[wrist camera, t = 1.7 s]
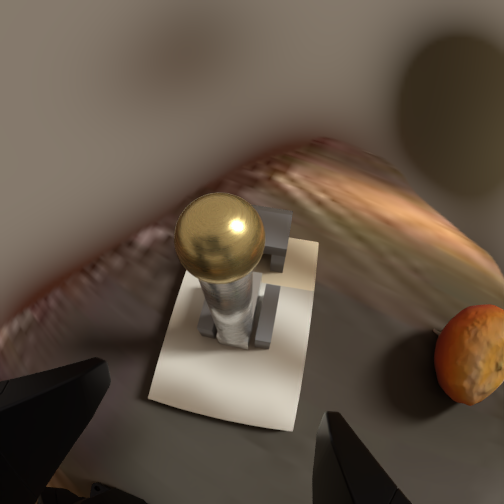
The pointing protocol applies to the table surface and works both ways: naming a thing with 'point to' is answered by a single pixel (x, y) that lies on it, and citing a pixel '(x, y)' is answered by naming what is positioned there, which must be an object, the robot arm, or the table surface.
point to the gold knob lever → (224, 260)
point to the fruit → (471, 354)
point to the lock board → (260, 347)
